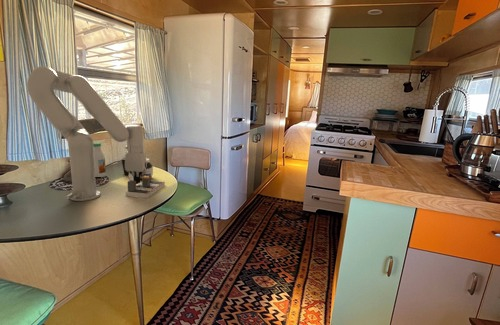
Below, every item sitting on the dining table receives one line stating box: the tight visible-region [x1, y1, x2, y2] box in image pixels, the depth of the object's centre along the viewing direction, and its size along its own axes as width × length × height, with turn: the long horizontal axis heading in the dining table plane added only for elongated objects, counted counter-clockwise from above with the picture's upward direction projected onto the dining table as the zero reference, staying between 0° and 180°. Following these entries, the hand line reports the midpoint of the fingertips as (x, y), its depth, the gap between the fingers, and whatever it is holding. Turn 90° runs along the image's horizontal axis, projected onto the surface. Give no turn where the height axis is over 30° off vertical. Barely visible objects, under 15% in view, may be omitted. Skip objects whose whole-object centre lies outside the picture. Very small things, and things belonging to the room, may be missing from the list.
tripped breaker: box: [141, 176, 150, 187], centre depth 141 cm, size 3×3×5 cm
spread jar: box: [128, 157, 154, 181], centre depth 159 cm, size 12×11×12 cm
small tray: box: [125, 173, 165, 199], centre depth 141 cm, size 20×11×7 cm, turn 172°
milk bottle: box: [93, 142, 107, 178], centre depth 158 cm, size 8×8×20 cm
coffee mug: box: [121, 156, 129, 176], centre depth 167 cm, size 12×9×10 cm
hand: (137, 183), depth 142 cm, fingers closed
